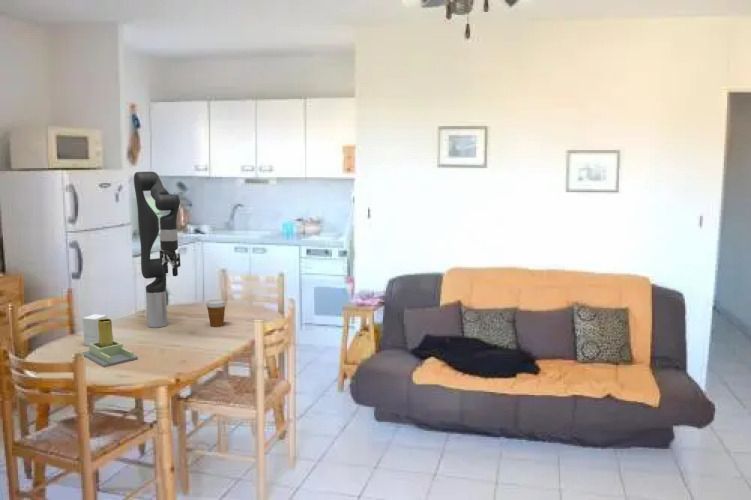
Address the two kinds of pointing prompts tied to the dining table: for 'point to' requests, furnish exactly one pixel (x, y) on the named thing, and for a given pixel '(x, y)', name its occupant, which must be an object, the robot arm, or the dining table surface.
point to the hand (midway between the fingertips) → (170, 274)
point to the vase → (105, 333)
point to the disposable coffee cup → (216, 312)
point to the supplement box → (91, 328)
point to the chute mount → (109, 354)
